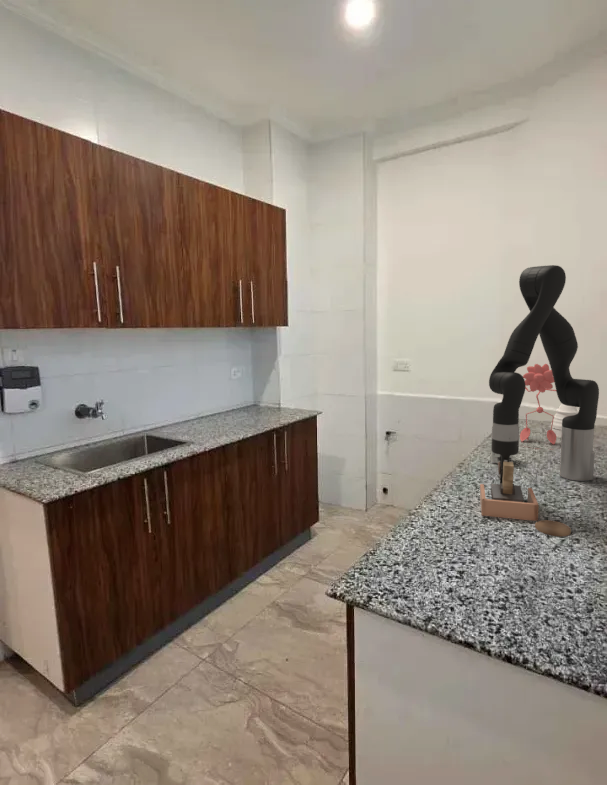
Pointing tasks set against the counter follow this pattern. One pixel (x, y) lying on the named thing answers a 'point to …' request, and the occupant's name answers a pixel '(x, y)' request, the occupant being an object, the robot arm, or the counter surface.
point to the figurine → (539, 381)
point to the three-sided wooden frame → (510, 507)
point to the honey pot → (560, 414)
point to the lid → (552, 528)
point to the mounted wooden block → (507, 486)
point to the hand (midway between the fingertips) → (503, 492)
